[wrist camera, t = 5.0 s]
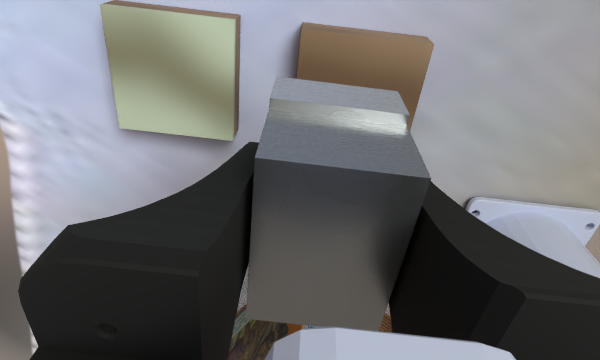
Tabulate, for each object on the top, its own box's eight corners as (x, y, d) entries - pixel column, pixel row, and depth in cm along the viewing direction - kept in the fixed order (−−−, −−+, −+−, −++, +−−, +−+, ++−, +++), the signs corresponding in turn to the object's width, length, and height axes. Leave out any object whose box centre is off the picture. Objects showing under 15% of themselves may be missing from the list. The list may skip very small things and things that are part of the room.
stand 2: (397, 147, 22) (401, 160, 21) (291, 135, 22) (289, 147, 20) (426, 36, 19) (434, 44, 17) (302, 22, 19) (301, 28, 17)
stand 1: (238, 129, 22) (233, 141, 20) (131, 117, 22) (119, 128, 20) (240, 14, 19) (234, 20, 17) (115, 0, 18) (99, 4, 17)
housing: (361, 236, 14) (375, 340, 11) (264, 224, 14) (245, 325, 11) (397, 91, 11) (435, 165, 8) (276, 76, 11) (255, 144, 8)
